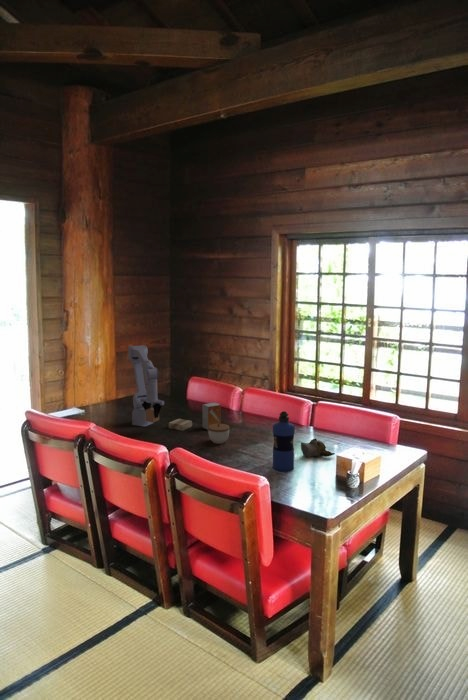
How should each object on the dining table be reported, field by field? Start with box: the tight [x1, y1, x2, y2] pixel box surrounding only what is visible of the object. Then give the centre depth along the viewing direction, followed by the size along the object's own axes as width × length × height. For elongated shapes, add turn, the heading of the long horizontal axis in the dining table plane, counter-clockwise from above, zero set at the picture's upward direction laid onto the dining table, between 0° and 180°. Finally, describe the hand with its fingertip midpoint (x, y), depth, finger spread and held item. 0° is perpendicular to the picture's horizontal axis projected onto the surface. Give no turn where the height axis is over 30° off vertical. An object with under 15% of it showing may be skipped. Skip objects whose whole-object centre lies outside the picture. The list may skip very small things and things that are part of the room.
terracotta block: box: [145, 407, 160, 423], centre depth 278 cm, size 5×5×6 cm
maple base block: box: [168, 418, 193, 432], centre depth 288 cm, size 9×9×4 cm
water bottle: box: [272, 411, 296, 473], centre depth 227 cm, size 9×9×25 cm
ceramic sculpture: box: [300, 438, 335, 459], centre depth 243 cm, size 11×9×15 cm
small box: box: [201, 402, 222, 431], centre depth 287 cm, size 8×6×13 cm
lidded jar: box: [207, 423, 230, 445], centre depth 263 cm, size 11×11×9 cm
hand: (152, 416), depth 278 cm, fingers closed on terracotta block, 5 cm apart
